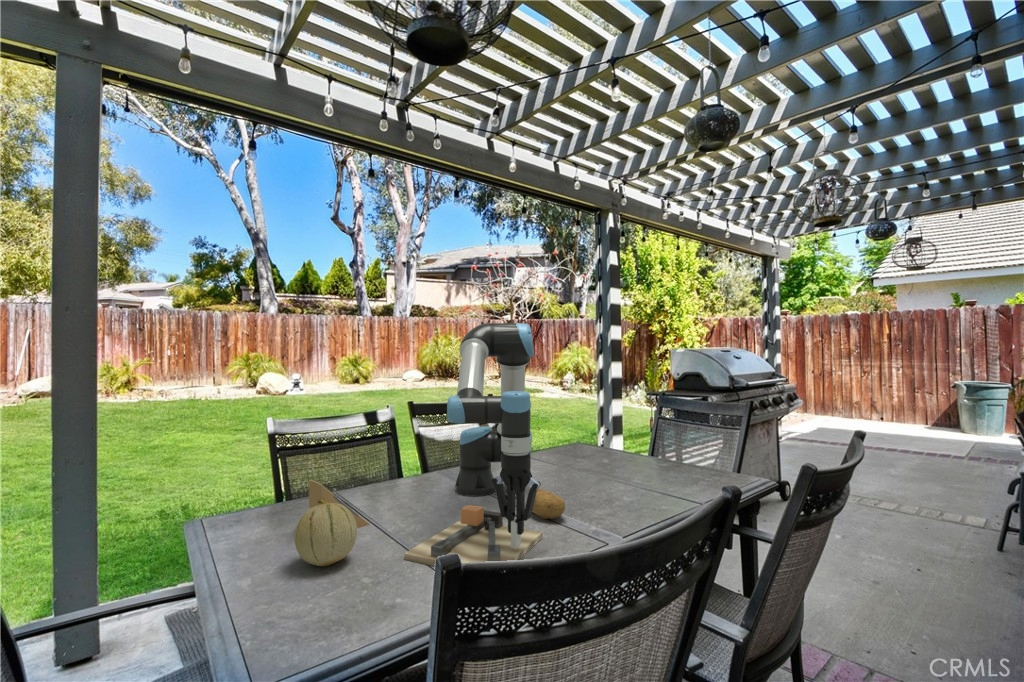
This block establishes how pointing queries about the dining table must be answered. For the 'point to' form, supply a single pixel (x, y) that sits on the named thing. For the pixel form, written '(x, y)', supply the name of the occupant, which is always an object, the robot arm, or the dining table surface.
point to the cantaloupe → (325, 533)
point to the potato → (548, 505)
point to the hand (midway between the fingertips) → (515, 546)
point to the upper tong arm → (492, 540)
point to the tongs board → (472, 542)
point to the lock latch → (472, 515)
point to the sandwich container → (329, 500)
